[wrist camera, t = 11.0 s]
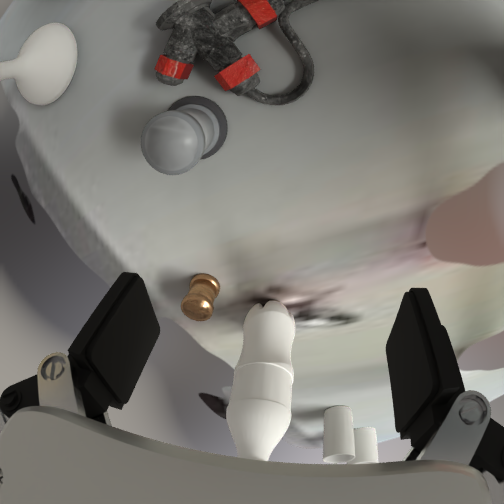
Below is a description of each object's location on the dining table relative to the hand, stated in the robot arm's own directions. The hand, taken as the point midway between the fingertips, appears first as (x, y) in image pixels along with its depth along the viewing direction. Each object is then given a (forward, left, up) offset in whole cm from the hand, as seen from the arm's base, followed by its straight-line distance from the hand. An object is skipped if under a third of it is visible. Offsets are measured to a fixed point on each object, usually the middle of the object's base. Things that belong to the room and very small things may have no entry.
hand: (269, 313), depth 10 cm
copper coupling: (+12, +19, -24) cm, 33 cm away
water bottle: (+3, +24, -25) cm, 34 cm away
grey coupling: (+10, -3, -24) cm, 26 cm away
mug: (-12, +57, -25) cm, 63 cm away
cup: (-18, +71, -25) cm, 77 cm away
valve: (0, -13, -25) cm, 28 cm away
